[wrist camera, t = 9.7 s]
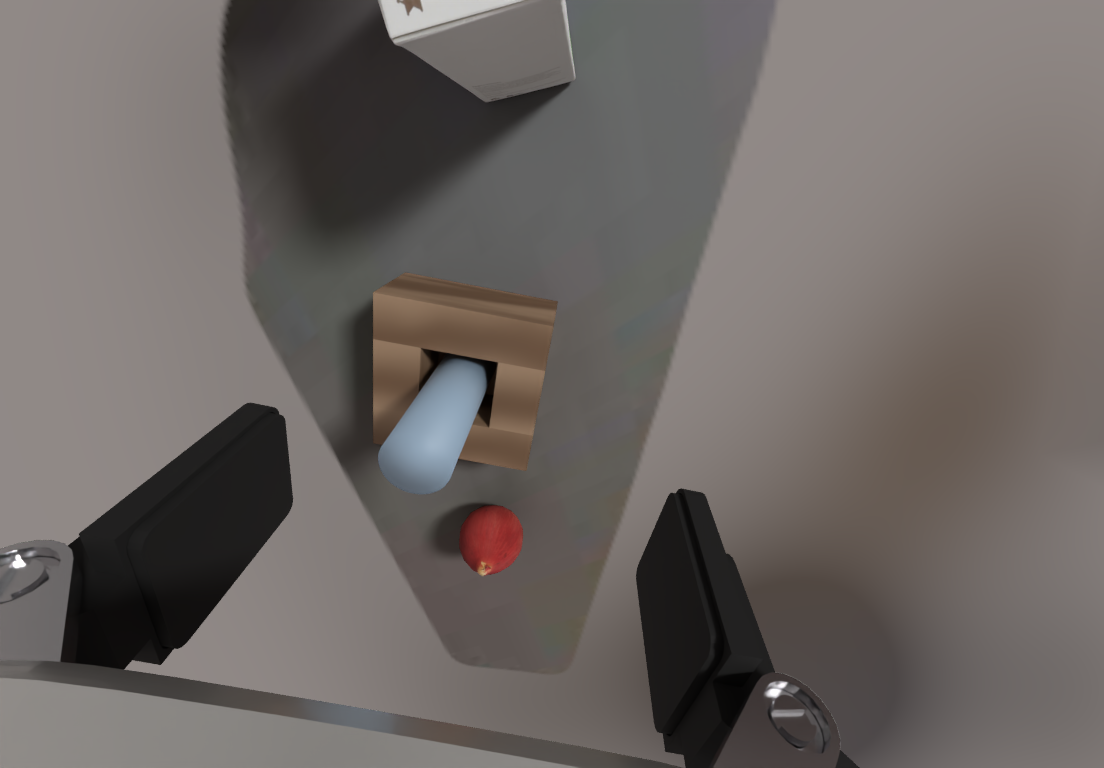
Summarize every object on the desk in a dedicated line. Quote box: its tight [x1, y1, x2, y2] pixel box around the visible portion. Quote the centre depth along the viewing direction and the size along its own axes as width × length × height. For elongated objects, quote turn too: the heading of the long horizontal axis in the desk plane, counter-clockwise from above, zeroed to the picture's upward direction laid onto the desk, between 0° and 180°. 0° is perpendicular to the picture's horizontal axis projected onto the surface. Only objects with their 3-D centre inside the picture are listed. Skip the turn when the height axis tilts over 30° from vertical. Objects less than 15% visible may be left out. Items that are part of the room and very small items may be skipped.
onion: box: [459, 505, 523, 576], centre depth 41 cm, size 6×6×8 cm
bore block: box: [373, 273, 558, 471], centre depth 35 cm, size 12×12×6 cm
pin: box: [378, 353, 496, 494], centre depth 31 cm, size 4×4×14 cm
